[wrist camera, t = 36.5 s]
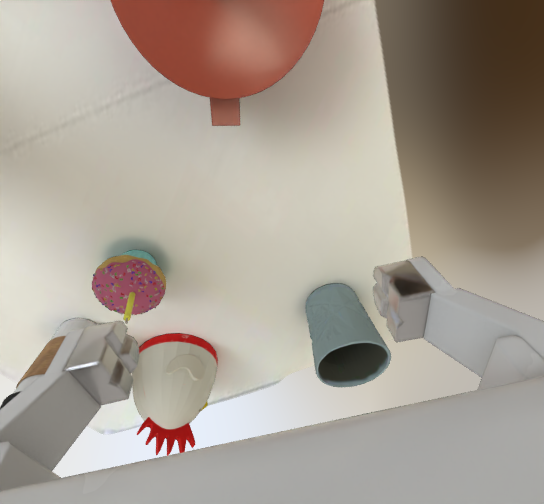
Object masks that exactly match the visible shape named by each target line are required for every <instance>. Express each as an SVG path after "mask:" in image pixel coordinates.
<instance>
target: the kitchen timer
mask: <svg viewBox="0 0 544 504" xmlns="http://www.w3.org/2000/svg"><path fill="white" fill-rule="evenodd" d="M217 361H218V358H217V354H216V351H215V350H214V348H213V347H212V346H211V345H210V344H209V343H207V342H206V341H204V340H203V339H201V338H198V337H195V336H192V335H187V334H180V333H178V334H165V335H161V336H157V337H154V338H152V339H150V340H148V341H146V342H145V343H144V344H143V345H141V346H140V347H139V361H138V365H137V367H136V368H135V370H134V371H133V372H132V377H133V379H134V380H133V384H132V386H133V397H134V402H135V405H136V407H137V410H138V412H139V414H140V415H141V417H142V418H143V420H144V423H143V424H142V426H141V427H140V429H139V431H138V433H137V435H138V434H139V433H140V432H141V431H142V430H143V429H144V428H145V427H150V428H151V431H150V434H149V437H148V439H147V441H146V445H148V443H149V442H150V441H151V440H152V438H154V437H156V455H157V454H158V453H159V451H160V450H161V447H162V444H163V442H164V439H165V438H166V439H167V456H168V455H169V454H170V452H171V450H172V447H173V445H174V441H175V439H176V440H177V441H178V445H179V451H180V453H182V452H184V451H185V444H186V440H188V442H189V443H190V445H191V447H192V448H193V447H194V445H195V440H194V436H193V434H192V431H191V428H190V425H189V423H190V422H192V420H194V419H195V418H196V416H197V415H198V414H199V412H200V411H202V410H203V409H204V408H205V407H206V406H207V405H208V404H207V400H208V398H209V395H210V393H211V390H212V387H213V384H214V381H215V377H216V372H217Z"/></svg>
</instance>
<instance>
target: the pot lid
mask: <svg viewBox="0 0 544 504" xmlns="http://www.w3.org/2000/svg"><path fill="white" fill-rule="evenodd" d="M111 3H112V6H113V8H114V11H115V13H116V15H117V17H118V19H119V21H120V23H121V25H122V27H123V28H124V30H125V32H126V33H127V35H128V36H129V38H130V40H131V41H132V43H133V44H134V45H135V47H136V48H137V49H138V51H139V52H140V53H141V54H142V56H143V57H144V58H145V59H146V60H147V61H148V62H149V63H150V64H151V65H152V66H153V67H154V68H155V69H156V70H157V71H158V72H160V73H161V74H162V75H163V76H164V77H166V78H167V79H169V80H170V81H172V82H173V83H175V84H176V85H178V86H180V87H182V88H184V89H186V90H188V91H190V92H193V93H196V94H198V95H201V96H206V97H210V98H217V99H235V98H242V97H246V96H251V95H253V94H256V93H258V92H261V91H263V90H265V89H267V88H268V87H270V86H272V85H274V84H275V83H276V82H278V81H279V80H280V79H282V78H283V77H284V76H285V75H286V74H287V73H288V72H289V71H290V70H291V69H292V68H293V67H294V65H295V64H296V63H297V62H298V60H299V59H300V58H301V56H302V55H303V53H304V52H305V50H306V48H307V47H308V45H309V43H310V41H311V39H312V37H313V35H314V33H315V30H316V27H317V25H318V22H319V19H320V16H321V12H322V8H323V4H324V0H111Z"/></svg>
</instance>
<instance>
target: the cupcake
mask: <svg viewBox="0 0 544 504" xmlns="http://www.w3.org/2000/svg"><path fill="white" fill-rule="evenodd" d="M93 276H94V277H93V281H92V290H93V291H94V294H95V295H96V298H98V299H99V302H101V303H103V304H102V305H105V307H107V308H108V309H109V310H110V309H111V311H112V310H113V311H115V312H118V313H120V314H123V313H124V318H123V319H124V320H125V323H126V324H127V323H128V320H130V317H131V315H133V314H135V315H137V314H142V313H145V312H148V311H149V310H151V309H153V308H154V307H155V308H156V306H157V305H159V303H160V301H161V299H162V298H163V296H164V294H165V289H166V279H165V276H164V274H163V273H162V271H161V269H160V268H159V267H158V266H157V264H156V261H155V259H154V258H153V257H152V256H151V255H150V254H149V253H147V252H144V251H141V250H130V251H127V252H125V253H124V254H122V255H121V256H115V257H111V258H109V259H107V260H106V261H105V262H103V263H102V264H101V265H100V266H99V267H98V268H97V269H96V272H95V274H94V275H93Z"/></svg>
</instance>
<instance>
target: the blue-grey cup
mask: <svg viewBox="0 0 544 504" xmlns="http://www.w3.org/2000/svg"><path fill="white" fill-rule="evenodd" d="M306 314H307V320H308V323H309V332H310V337H311V339H312V350H313V356H314V363H315V369H316V374H317V377H318V378H319V379H320V380H321V381H322V382H323V383H325V384H327V385H330V386H333V387H352V386H357V385H361V384H364V383H366V382H369V381H371V380H373V379H375V378H376V377H378V376H379V375H380V374H382V373H383V372H384V370H385V369H386V368H387V367H388V365H389V364H390V360H391V353H390V350H389V349H388V347H387V346H386V344H385V342H384V341H383V339H382V337H381V336H380V334H379V333H378V331H377V329H376V328H375V326H374V324H373V322H372V321H371V319H370V317H368V314H367V312H366V311H365V309H364V307H363V306H362V304H361V303H360V302H359V299H358V297H357V295H356V294H355V292H354V291H353V290H352V289H351V288H350V287H349V286H346V285H344V284H338V283H334V284H328V285H324V286H322V287H320V288H318V289H316V290H315V291H314V292H313V293H312V294H311V295H310V296H309V298H308V299H307V302H306Z"/></svg>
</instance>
